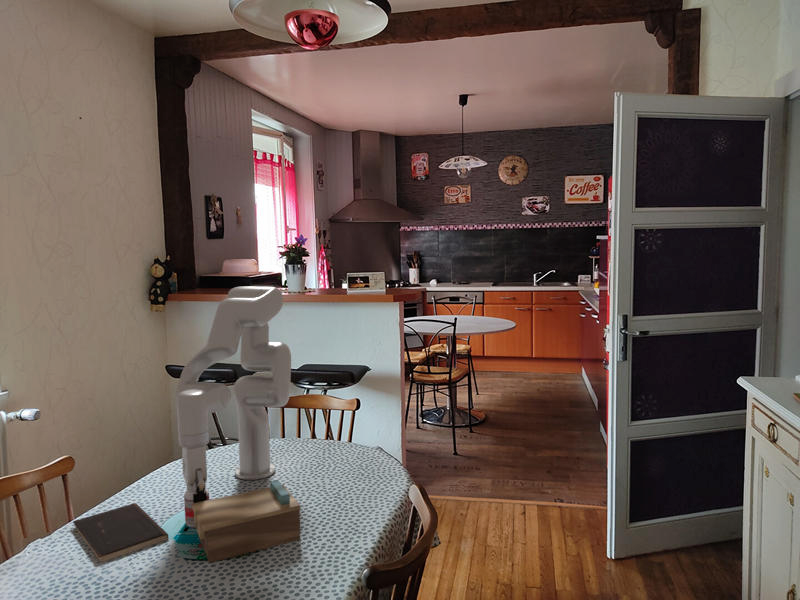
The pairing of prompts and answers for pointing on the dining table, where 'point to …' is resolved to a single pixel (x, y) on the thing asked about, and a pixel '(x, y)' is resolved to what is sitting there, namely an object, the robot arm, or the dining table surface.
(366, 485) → the dining table surface
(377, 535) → the dining table surface
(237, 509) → the toolbox lid
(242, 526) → the brown boxy piece
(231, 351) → the robot arm
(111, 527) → the hardcover book
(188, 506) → the pill bottle
